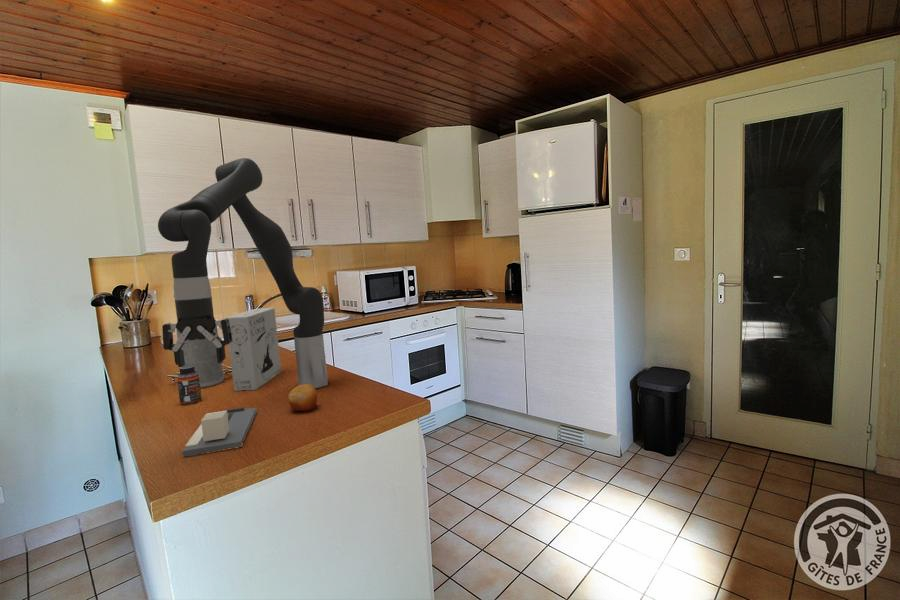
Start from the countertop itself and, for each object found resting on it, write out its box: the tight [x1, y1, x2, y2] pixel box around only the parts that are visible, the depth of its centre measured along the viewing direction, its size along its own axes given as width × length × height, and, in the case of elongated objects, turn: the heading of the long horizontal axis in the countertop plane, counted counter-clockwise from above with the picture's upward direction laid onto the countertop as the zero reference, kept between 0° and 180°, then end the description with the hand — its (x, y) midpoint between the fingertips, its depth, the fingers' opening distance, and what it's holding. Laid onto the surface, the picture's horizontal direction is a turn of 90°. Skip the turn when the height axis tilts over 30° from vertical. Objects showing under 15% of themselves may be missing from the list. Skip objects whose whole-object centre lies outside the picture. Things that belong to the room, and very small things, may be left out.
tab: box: [200, 410, 229, 441], centre depth 105 cm, size 4×5×5 cm
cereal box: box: [226, 307, 282, 392], centre depth 156 cm, size 22×8×25 cm, turn 179°
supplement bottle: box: [176, 366, 202, 405], centre depth 138 cm, size 6×6×11 cm
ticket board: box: [182, 406, 258, 458], centre depth 112 cm, size 12×24×2 cm, turn 16°
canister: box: [175, 325, 225, 389], centre depth 158 cm, size 13×17×40 cm
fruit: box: [287, 384, 318, 412], centre depth 126 cm, size 8×8×8 cm
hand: (201, 364), depth 105 cm, fingers open, 8 cm apart
